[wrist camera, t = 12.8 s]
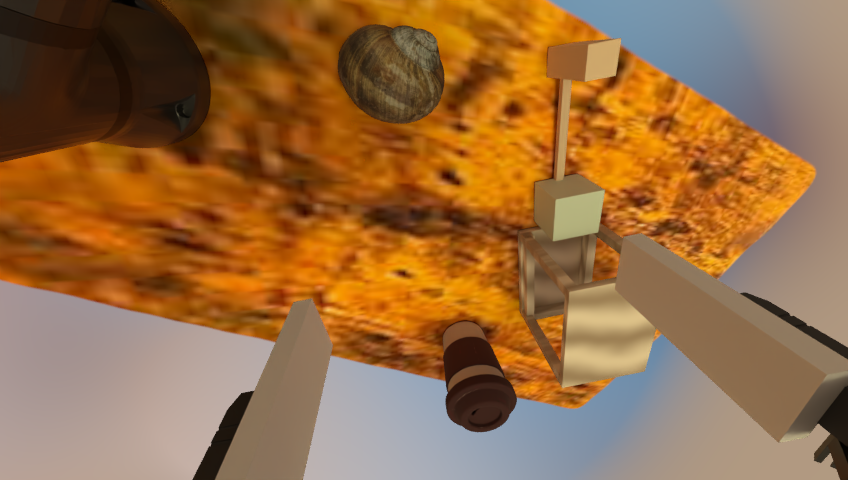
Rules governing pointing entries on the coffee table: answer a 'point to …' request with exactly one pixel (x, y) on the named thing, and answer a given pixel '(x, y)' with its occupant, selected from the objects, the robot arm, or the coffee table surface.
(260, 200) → the coffee table surface
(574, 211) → the tethered block
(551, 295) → the frame
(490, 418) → the coffee cup
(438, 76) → the seashell
